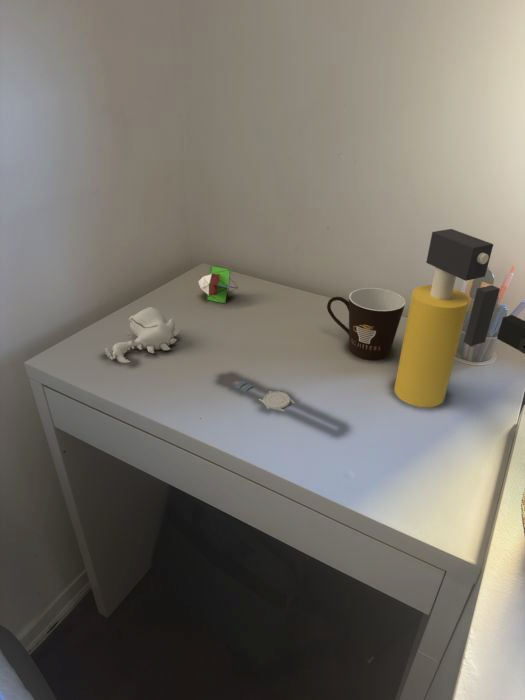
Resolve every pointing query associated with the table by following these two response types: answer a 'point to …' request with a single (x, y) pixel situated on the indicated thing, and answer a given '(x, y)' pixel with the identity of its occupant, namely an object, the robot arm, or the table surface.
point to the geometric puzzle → (216, 284)
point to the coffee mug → (371, 321)
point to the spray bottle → (438, 318)
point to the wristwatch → (271, 398)
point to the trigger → (481, 315)
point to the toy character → (146, 334)
